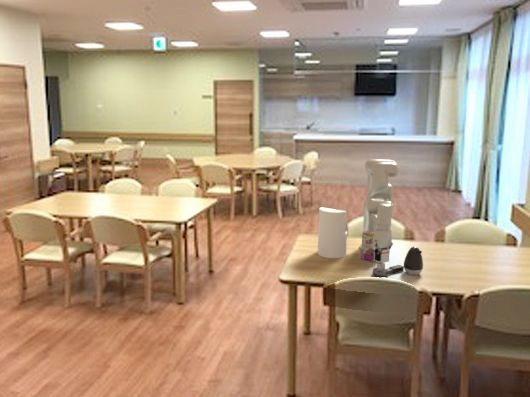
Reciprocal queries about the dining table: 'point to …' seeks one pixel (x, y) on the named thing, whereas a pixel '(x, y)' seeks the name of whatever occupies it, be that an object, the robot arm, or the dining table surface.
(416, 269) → the dark brown rounded piece
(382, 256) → the cardboard mailer box
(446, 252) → the dining table surface
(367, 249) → the candy bar box
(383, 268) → the small saucepan
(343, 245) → the cylinder
